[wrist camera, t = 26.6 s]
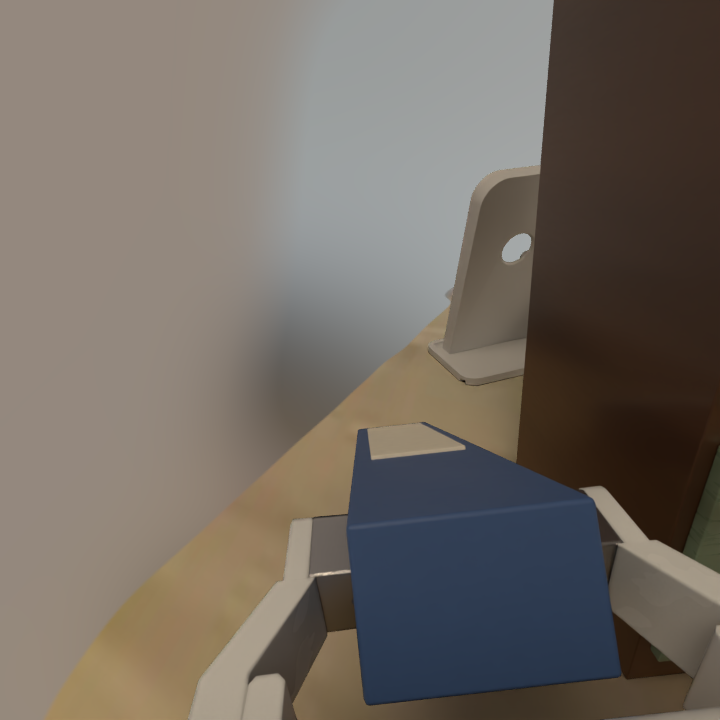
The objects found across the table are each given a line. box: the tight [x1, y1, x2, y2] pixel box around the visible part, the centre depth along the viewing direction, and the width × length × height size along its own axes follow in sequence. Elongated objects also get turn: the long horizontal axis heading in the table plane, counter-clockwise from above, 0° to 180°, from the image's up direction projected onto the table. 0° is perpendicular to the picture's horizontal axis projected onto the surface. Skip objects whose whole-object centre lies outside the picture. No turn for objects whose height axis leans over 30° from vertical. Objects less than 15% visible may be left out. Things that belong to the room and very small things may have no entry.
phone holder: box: [428, 165, 541, 385], centre depth 40 cm, size 17×10×18 cm, turn 106°
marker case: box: [346, 422, 621, 705], centre depth 17 cm, size 4×20×3 cm
